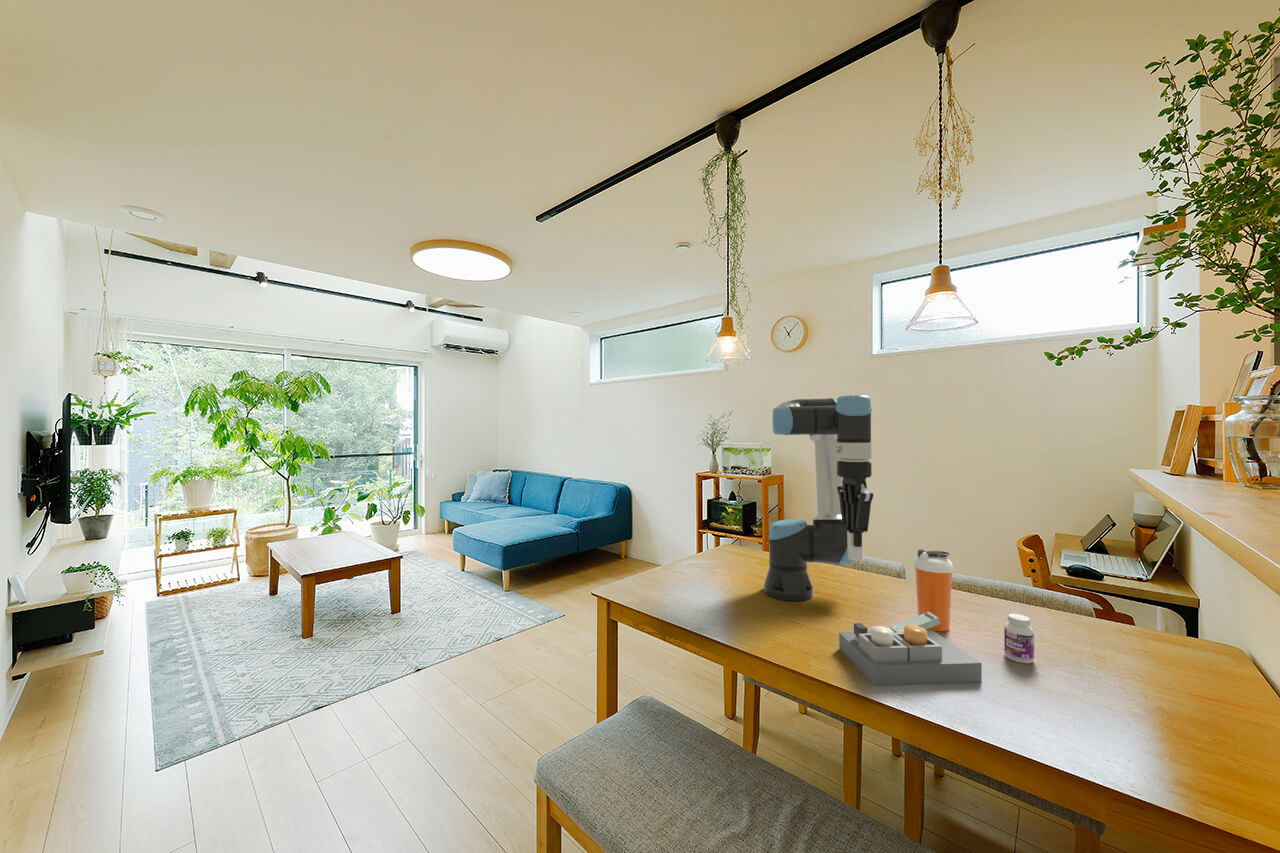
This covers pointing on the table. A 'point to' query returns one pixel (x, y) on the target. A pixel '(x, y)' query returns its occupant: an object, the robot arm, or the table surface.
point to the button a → (882, 636)
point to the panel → (910, 660)
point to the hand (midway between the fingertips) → (854, 558)
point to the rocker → (917, 622)
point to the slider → (859, 629)
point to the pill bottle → (1019, 639)
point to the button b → (915, 635)
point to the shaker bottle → (934, 585)
